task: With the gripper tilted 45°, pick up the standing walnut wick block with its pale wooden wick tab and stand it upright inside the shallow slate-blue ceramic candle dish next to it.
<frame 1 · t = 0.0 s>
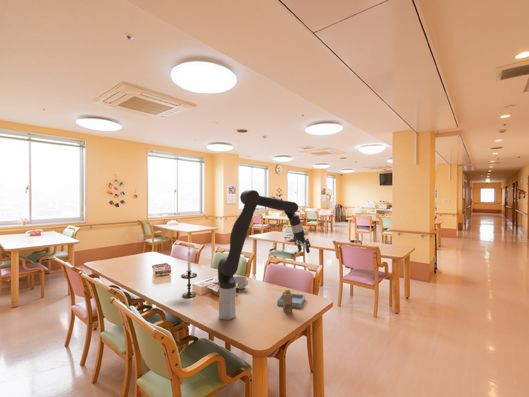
hand: (304, 251, 181), 31 cm above the table, tool tilted 20°, fingers open, 8 cm apart
candlestick: (189, 295, 184), on the table
wick block: (287, 311, 159), on the table
candle dish: (291, 302, 173), on the table
teacup: (240, 288, 198), on the table
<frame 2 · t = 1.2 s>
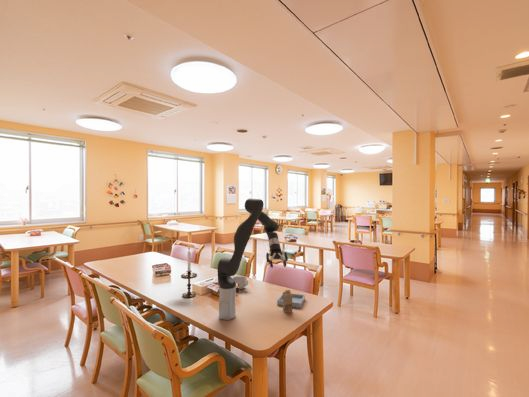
hand: (278, 266, 173), 23 cm above the table, tool tilted 45°, fingers open, 8 cm apart
nothing on the table moved.
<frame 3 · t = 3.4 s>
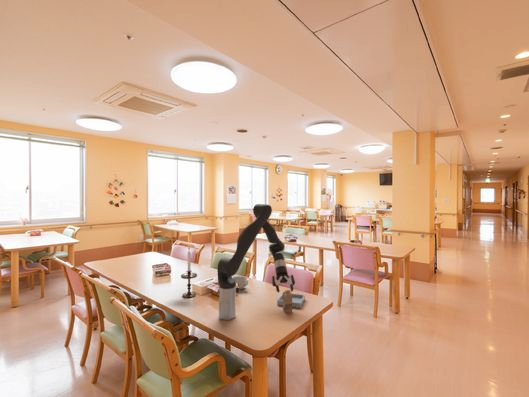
hand: (285, 291, 164), 10 cm above the table, tool tilted 45°, fingers open, 8 cm apart
nothing on the table moved.
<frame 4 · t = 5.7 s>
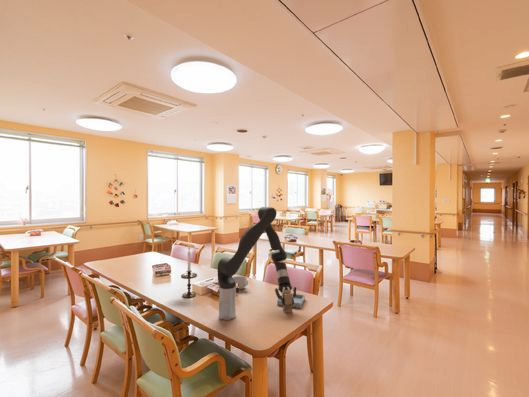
hand: (288, 304, 157), 5 cm above the table, tool tilted 45°, fingers closed on wick block, 4 cm apart
wick block: (287, 311, 159), on the table, touching gripper
everything else where it was.
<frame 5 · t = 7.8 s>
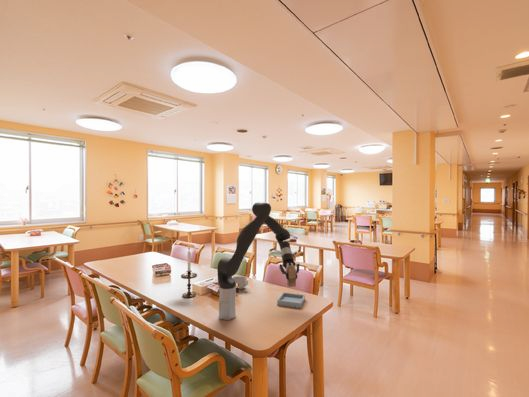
hand: (292, 279, 168), 17 cm above the table, tool tilted 45°, fingers closed on wick block, 4 cm apart
wick block: (291, 285, 170), point 12 cm above the table, touching gripper
everything else where it was.
when the fingers open (7 cm above the table, at t = 10.2 s): wick block drops 1 cm, resting on candle dish.
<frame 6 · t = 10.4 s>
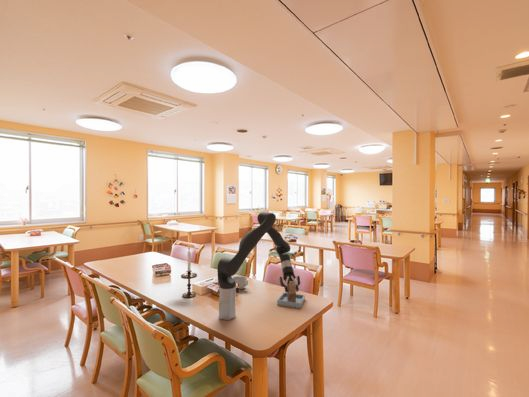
hand: (292, 291, 171), 7 cm above the table, tool tilted 45°, fingers open, 6 cm apart
wick block: (291, 300, 173), point 1 cm above the table, touching candle dish
everything else where it was.
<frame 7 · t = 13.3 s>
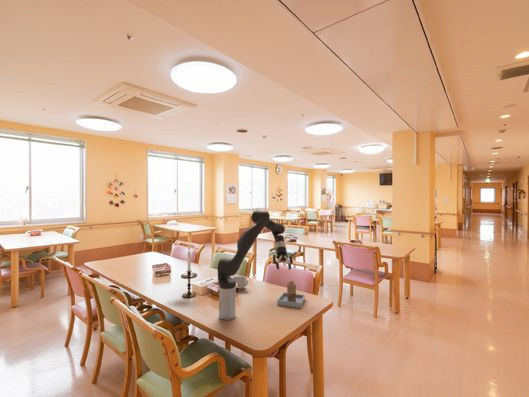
hand: (284, 269, 184), 19 cm above the table, tool tilted 40°, fingers open, 8 cm apart
nothing on the table moved.
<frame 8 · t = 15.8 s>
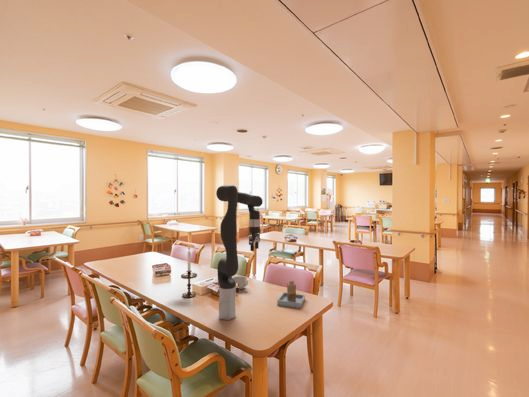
hand: (254, 249, 179), 33 cm above the table, tool pointing down, fingers open, 8 cm apart
nothing on the table moved.
at the end: wick block inside the target area on the candle dish (0.1 cm from its centre), point 1.0 cm above the candle dish's base; wick block tilted 0°; the gripper is holding nothing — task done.
